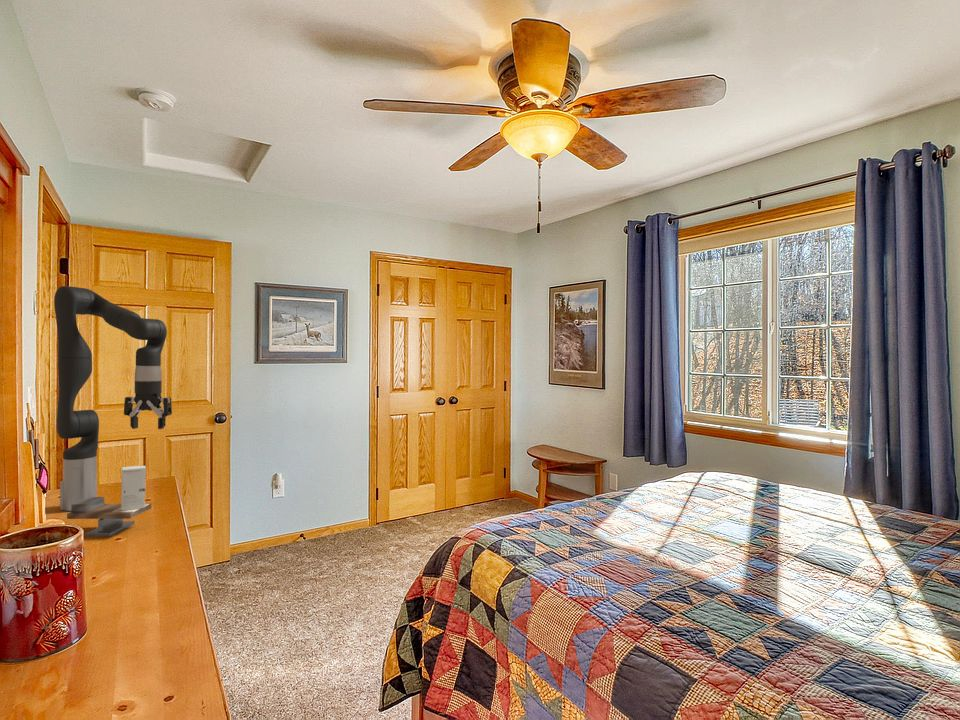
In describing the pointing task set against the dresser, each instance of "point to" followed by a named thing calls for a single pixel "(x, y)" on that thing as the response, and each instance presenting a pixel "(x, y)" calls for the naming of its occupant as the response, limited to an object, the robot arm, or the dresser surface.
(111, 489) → the dresser surface
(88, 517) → the seesaw beam
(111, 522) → the fulcrum
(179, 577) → the dresser surface
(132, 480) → the skincare box
